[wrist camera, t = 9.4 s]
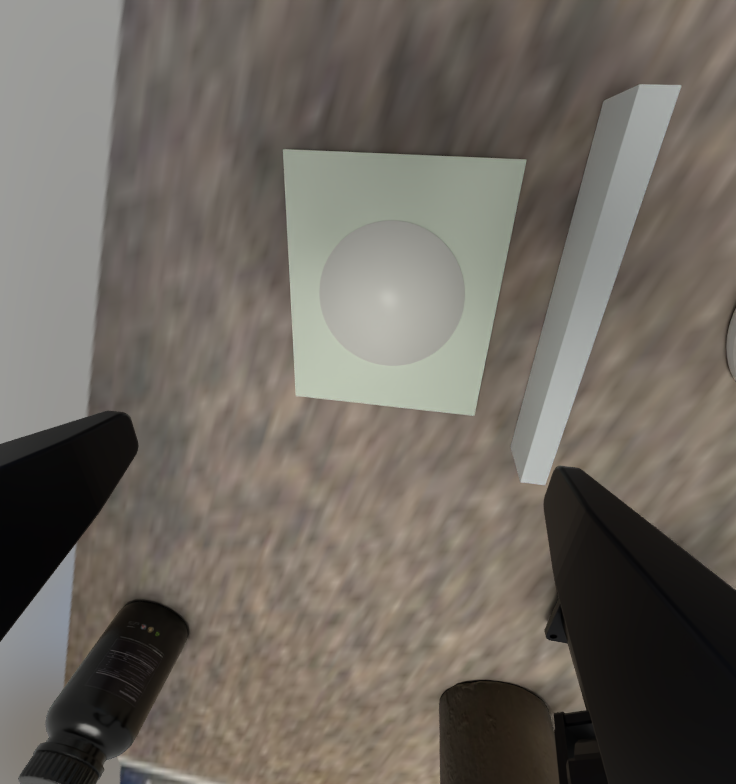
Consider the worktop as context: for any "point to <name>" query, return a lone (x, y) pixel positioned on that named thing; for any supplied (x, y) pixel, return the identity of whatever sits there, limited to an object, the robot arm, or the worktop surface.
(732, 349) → the eye dropper bottle
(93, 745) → the supplement bottle
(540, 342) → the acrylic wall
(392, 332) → the pad
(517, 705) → the pillar candle
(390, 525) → the worktop surface
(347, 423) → the worktop surface
